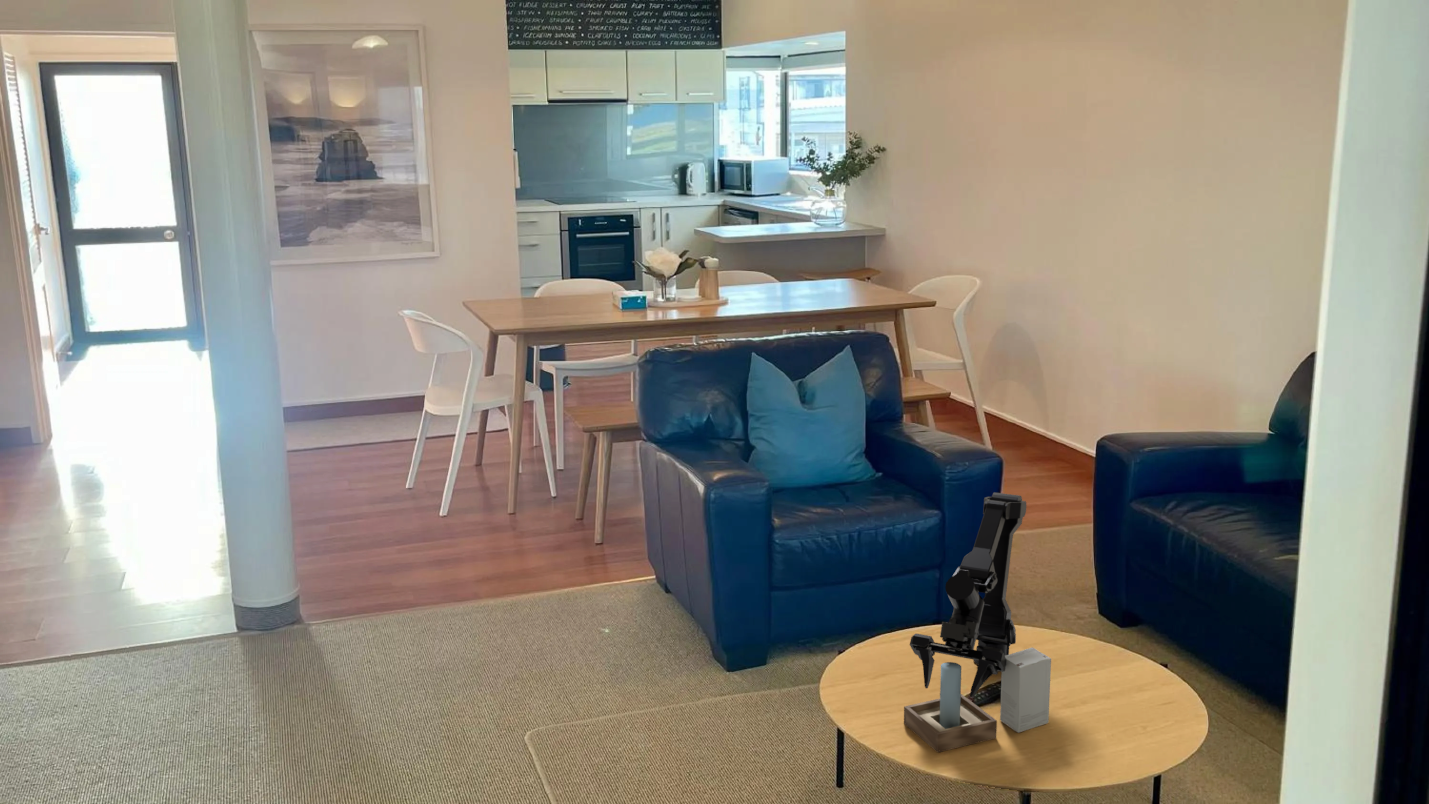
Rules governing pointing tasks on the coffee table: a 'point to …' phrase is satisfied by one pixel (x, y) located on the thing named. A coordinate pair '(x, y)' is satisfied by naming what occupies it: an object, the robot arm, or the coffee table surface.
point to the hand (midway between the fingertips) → (948, 692)
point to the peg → (950, 695)
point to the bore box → (970, 731)
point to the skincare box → (1025, 690)
